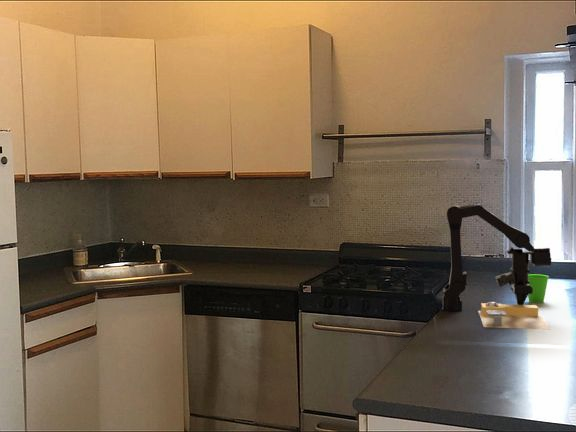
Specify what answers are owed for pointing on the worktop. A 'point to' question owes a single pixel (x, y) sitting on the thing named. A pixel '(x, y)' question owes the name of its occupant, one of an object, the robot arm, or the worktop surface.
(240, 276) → the worktop surface
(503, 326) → the board
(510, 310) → the link
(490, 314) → the keeper
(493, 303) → the pintle
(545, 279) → the cup
